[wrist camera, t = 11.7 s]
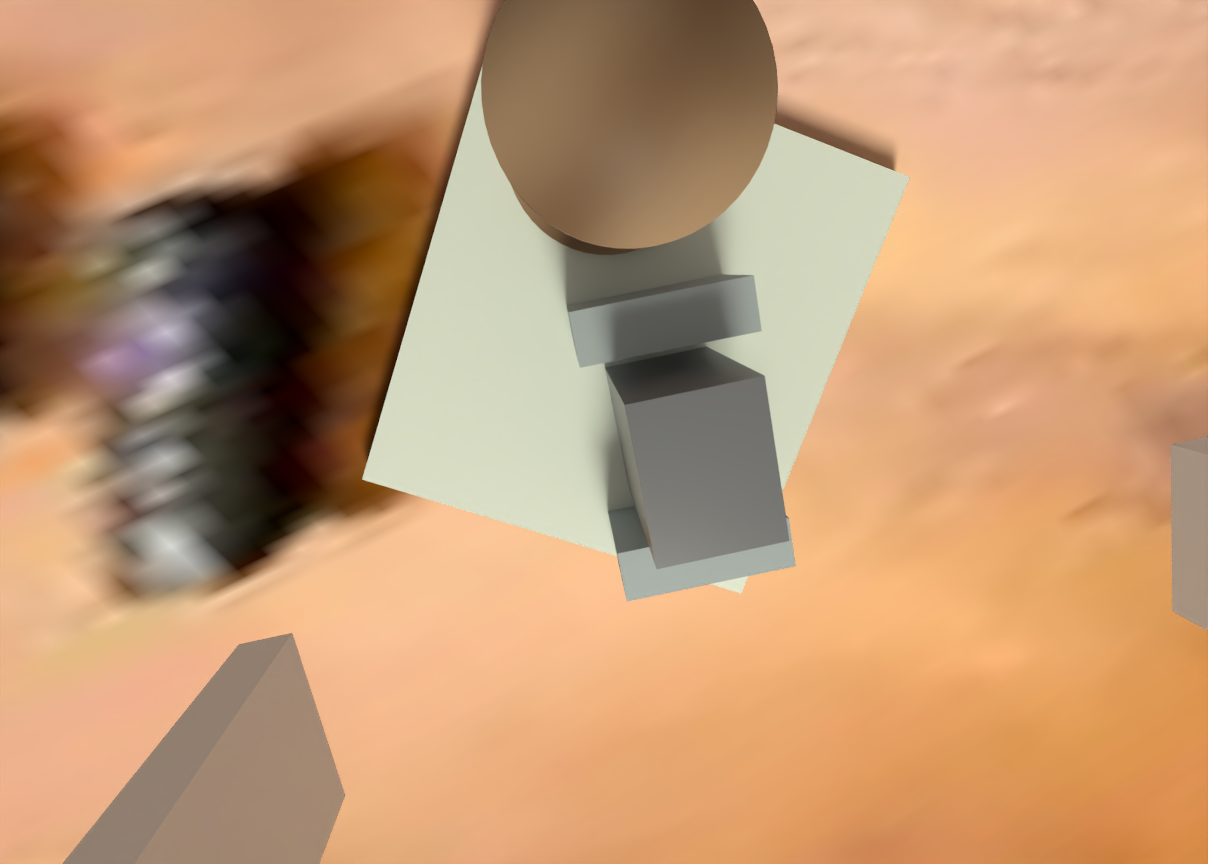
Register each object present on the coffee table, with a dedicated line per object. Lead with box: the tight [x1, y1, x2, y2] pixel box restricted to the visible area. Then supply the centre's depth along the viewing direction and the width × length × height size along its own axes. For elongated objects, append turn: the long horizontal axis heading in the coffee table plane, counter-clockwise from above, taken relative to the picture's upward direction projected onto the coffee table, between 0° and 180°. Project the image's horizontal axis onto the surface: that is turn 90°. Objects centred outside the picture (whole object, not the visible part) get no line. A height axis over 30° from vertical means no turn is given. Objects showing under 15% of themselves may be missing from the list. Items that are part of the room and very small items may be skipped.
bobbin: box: [481, 0, 778, 255], centre depth 22 cm, size 7×7×9 cm
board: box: [362, 68, 910, 593], centre depth 28 cm, size 16×18×1 cm
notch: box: [566, 274, 795, 601], centre depth 27 cm, size 6×10×4 cm, turn 11°
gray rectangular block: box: [605, 347, 790, 569], centre depth 25 cm, size 4×5×8 cm
